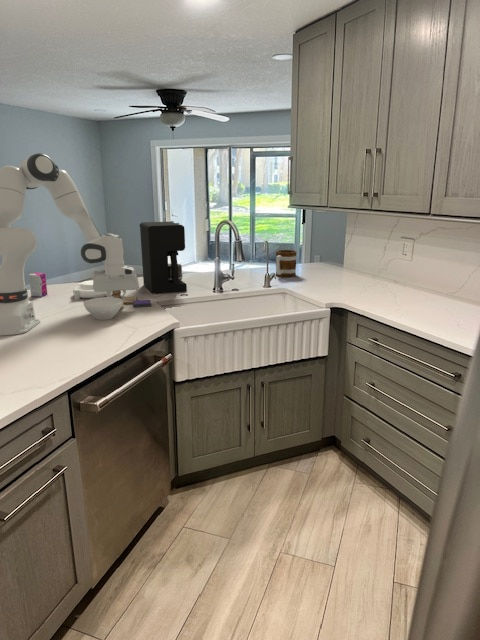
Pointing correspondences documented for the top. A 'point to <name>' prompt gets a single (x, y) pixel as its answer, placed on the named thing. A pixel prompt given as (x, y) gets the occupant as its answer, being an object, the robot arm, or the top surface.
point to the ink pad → (142, 303)
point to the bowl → (103, 307)
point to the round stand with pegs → (88, 291)
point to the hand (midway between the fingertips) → (117, 299)
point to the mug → (286, 263)
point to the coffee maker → (162, 256)
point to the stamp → (118, 296)
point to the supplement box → (38, 284)
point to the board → (129, 300)
